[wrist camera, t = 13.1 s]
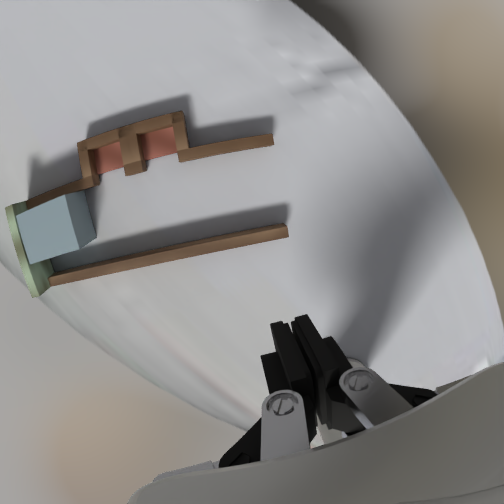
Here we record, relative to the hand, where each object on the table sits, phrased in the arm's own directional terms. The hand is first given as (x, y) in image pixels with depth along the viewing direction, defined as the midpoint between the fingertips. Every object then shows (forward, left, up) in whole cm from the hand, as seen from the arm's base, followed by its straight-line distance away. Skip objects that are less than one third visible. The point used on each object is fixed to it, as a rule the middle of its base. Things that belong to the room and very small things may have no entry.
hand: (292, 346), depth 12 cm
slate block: (+6, +22, -22) cm, 31 cm away
